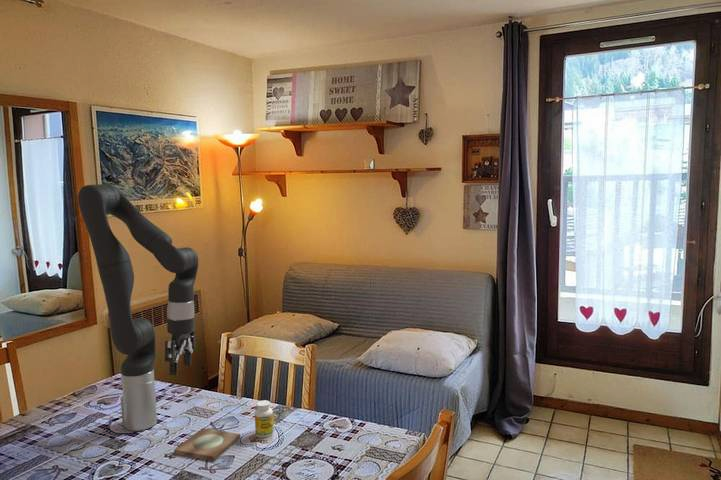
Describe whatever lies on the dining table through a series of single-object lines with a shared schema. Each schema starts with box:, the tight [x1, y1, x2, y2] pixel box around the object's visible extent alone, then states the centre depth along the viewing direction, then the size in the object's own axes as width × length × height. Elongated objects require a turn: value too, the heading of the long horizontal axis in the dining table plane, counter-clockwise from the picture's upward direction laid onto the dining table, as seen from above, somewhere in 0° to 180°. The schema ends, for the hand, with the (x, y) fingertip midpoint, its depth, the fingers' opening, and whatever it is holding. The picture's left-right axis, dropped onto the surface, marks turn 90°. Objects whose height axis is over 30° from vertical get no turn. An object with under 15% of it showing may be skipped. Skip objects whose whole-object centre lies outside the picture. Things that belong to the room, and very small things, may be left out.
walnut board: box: [173, 427, 241, 462], centre depth 150 cm, size 13×13×1 cm
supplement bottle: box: [254, 399, 275, 438], centre depth 156 cm, size 5×5×10 cm
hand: (180, 370), depth 155 cm, fingers open, 8 cm apart
